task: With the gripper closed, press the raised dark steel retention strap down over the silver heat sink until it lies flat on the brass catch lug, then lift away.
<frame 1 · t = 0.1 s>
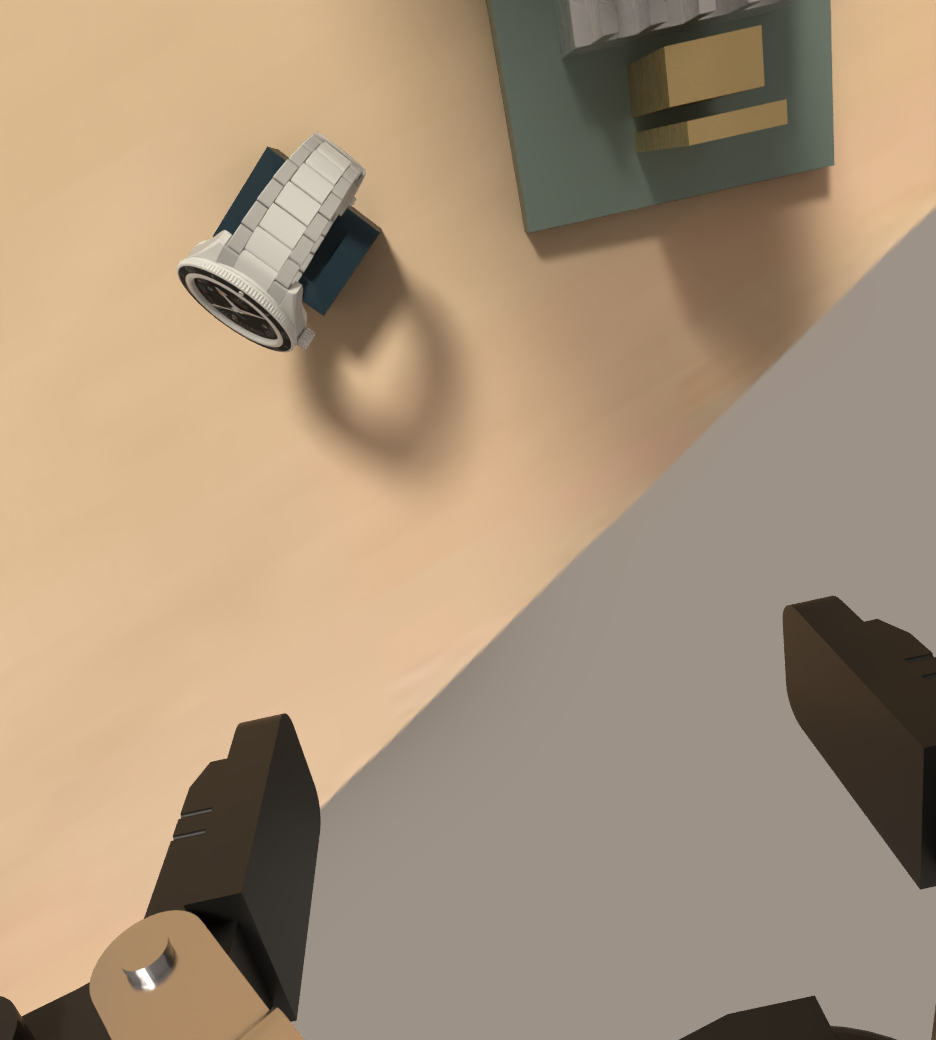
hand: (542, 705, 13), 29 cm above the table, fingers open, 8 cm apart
watch: (304, 232, 37), on the table
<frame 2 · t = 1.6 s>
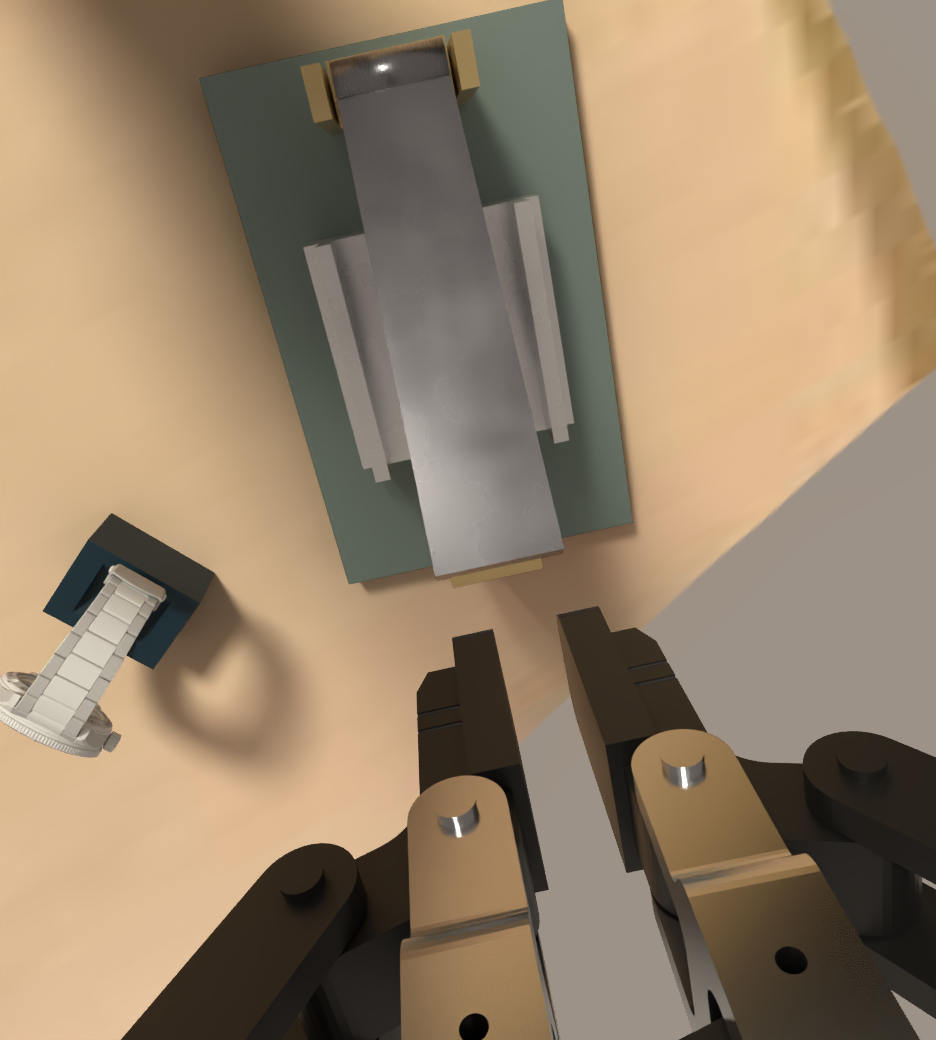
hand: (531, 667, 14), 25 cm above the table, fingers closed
strap: (439, 292, 24), point 12 cm above the table, hinge at 35.0°
heat sink: (445, 337, 33), on the board, point 4 cm above the table
board: (440, 321, 36), on the table
watch: (142, 576, 40), on the table
clip posts: (443, 325, 31), on the board, point 5 cm above the table
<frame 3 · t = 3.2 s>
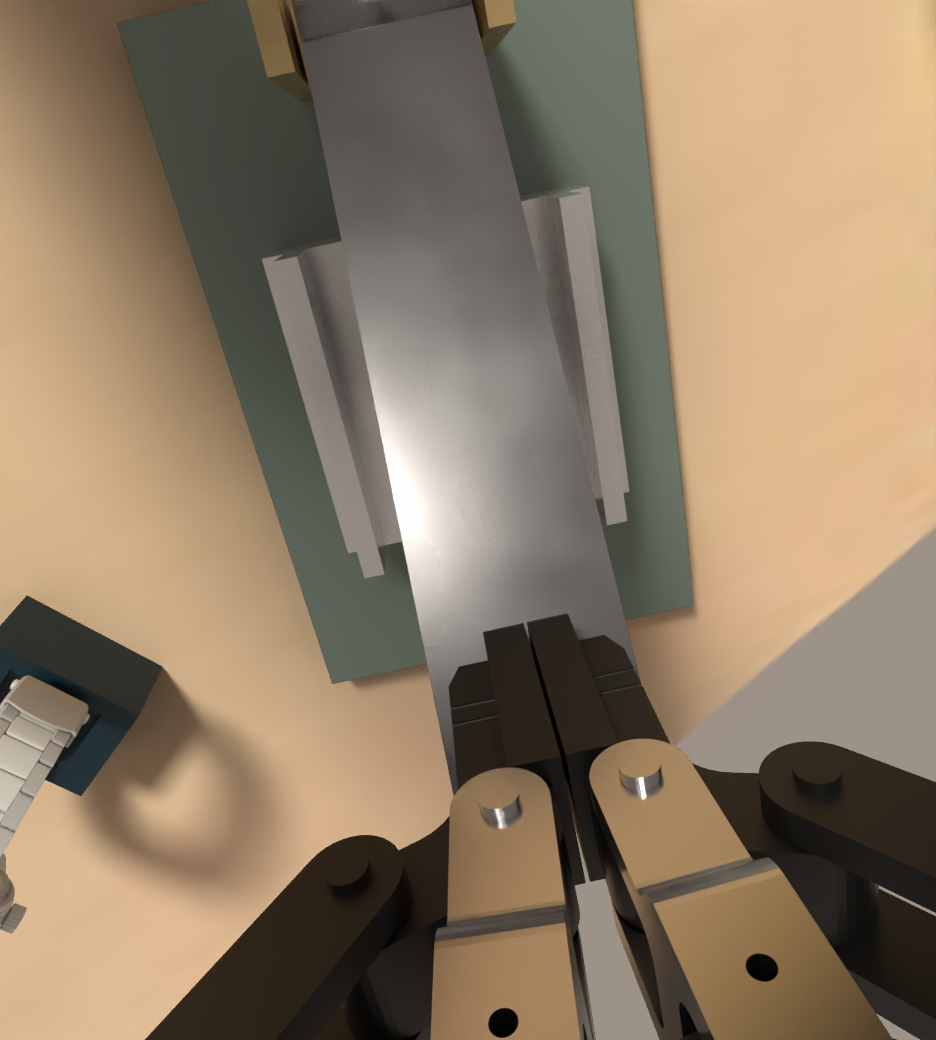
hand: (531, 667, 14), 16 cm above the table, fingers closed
strap: (457, 340, 16), point 12 cm above the table, hinge at 33.8°, touching gripper
heat sink: (458, 380, 24), on the board, point 4 cm above the table
board: (450, 352, 28), on the table
watch: (71, 671, 32), on the table
clip posts: (456, 366, 23), on the board, point 5 cm above the table
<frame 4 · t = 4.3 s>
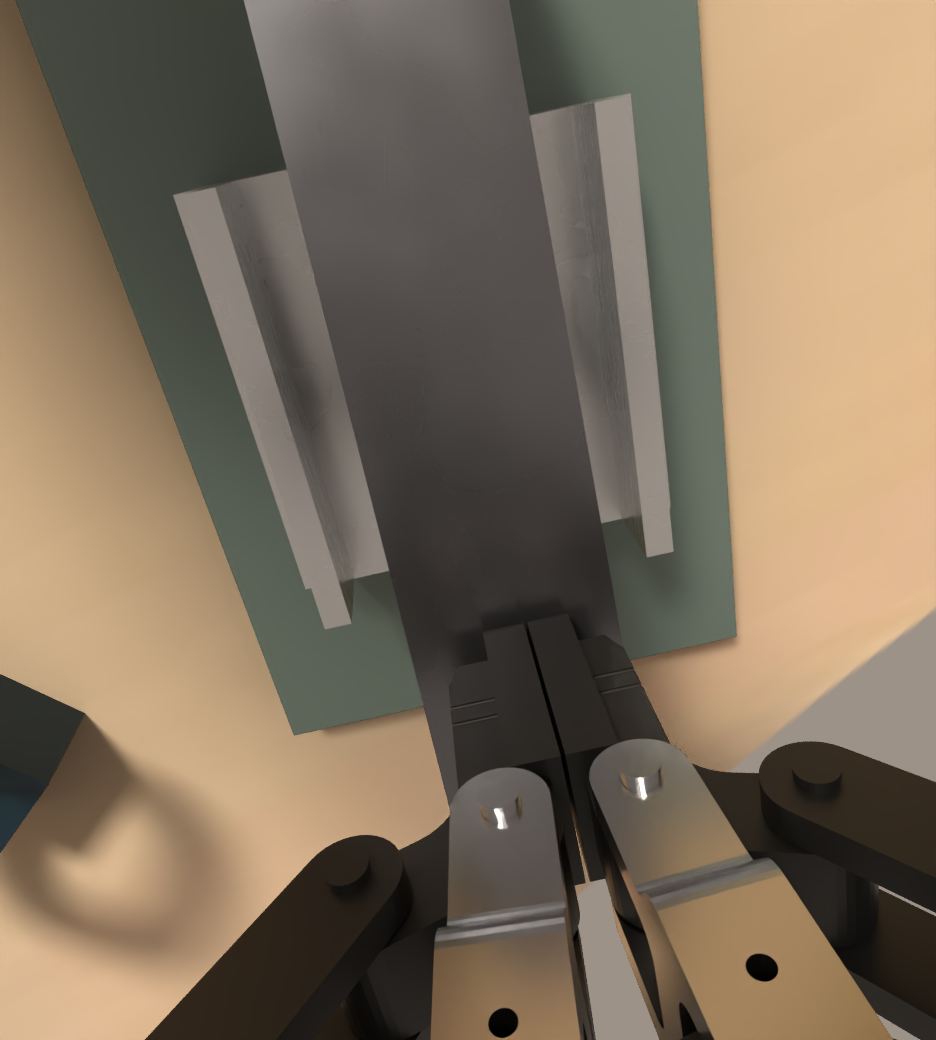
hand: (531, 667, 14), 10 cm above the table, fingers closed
strap: (451, 348, 13), point 9 cm above the table, hinge at 10.3°, touching gripper
heat sink: (448, 363, 18), on the board, point 4 cm above the table
board: (436, 325, 22), on the table
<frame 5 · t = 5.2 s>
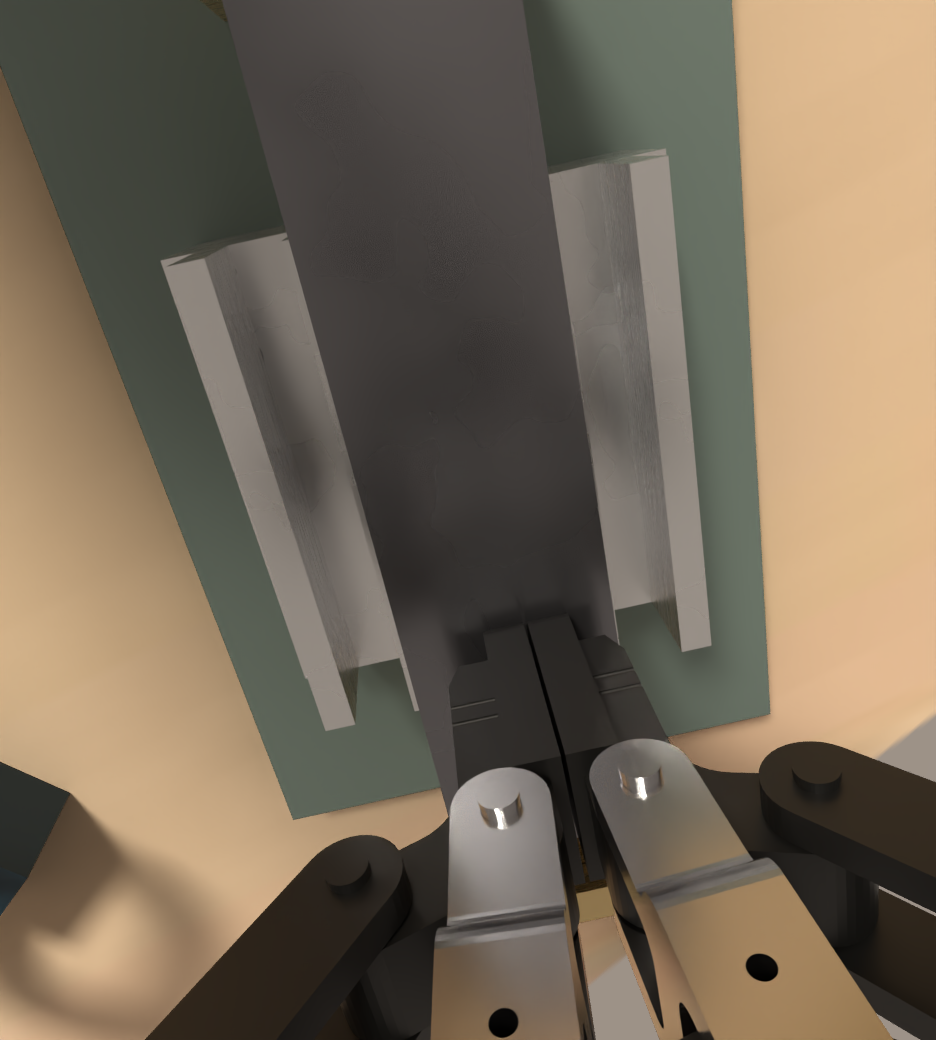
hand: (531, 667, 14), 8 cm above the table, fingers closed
strap: (463, 424, 13), point 8 cm above the table, hinge at 0.8°, touching gripper
heat sink: (462, 436, 16), on the board, point 4 cm above the table
board: (448, 386, 20), on the table
clip posts: (460, 421, 15), on the board, point 5 cm above the table
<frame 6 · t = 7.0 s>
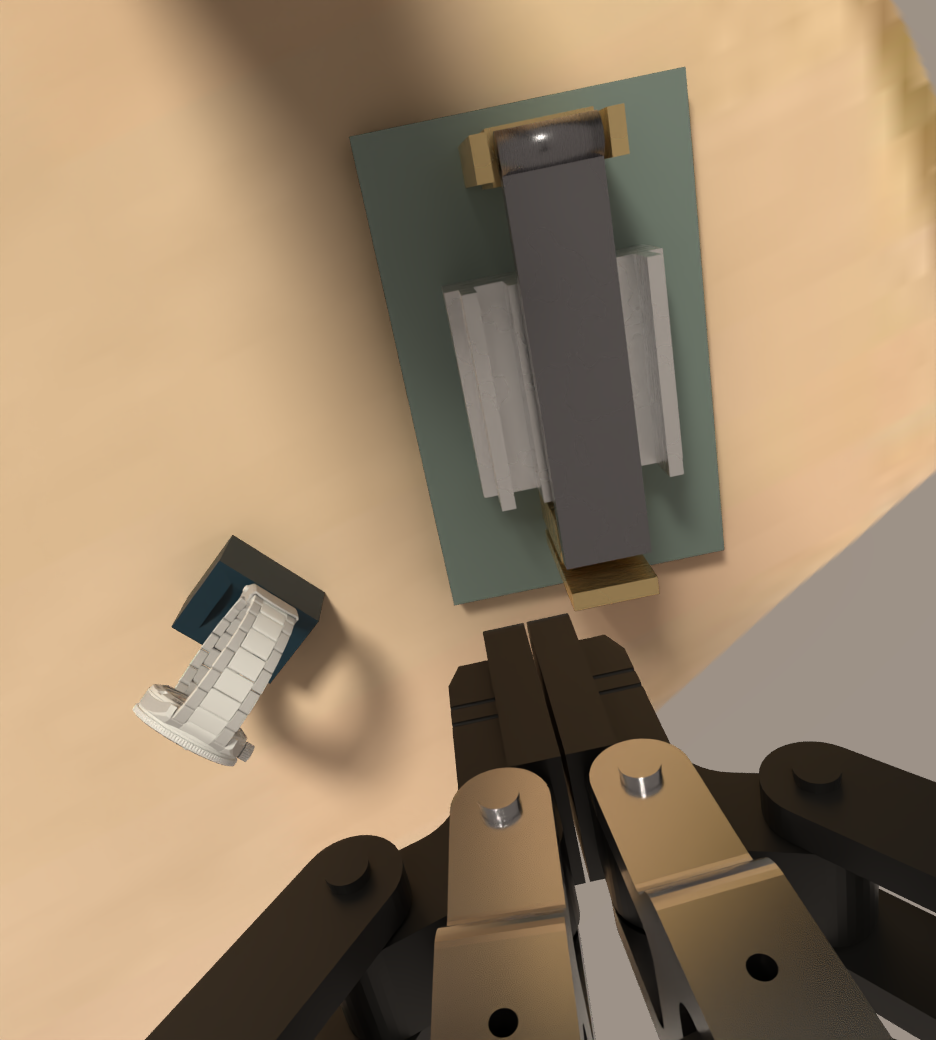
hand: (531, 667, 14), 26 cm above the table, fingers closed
strap: (578, 360, 31), point 8 cm above the table, hinge at 0.7°
heat sink: (567, 376, 35), on the board, point 4 cm above the table
board: (551, 359, 39), on the table
watch: (256, 595, 42), on the table
clip posts: (569, 366, 34), on the board, point 5 cm above the table
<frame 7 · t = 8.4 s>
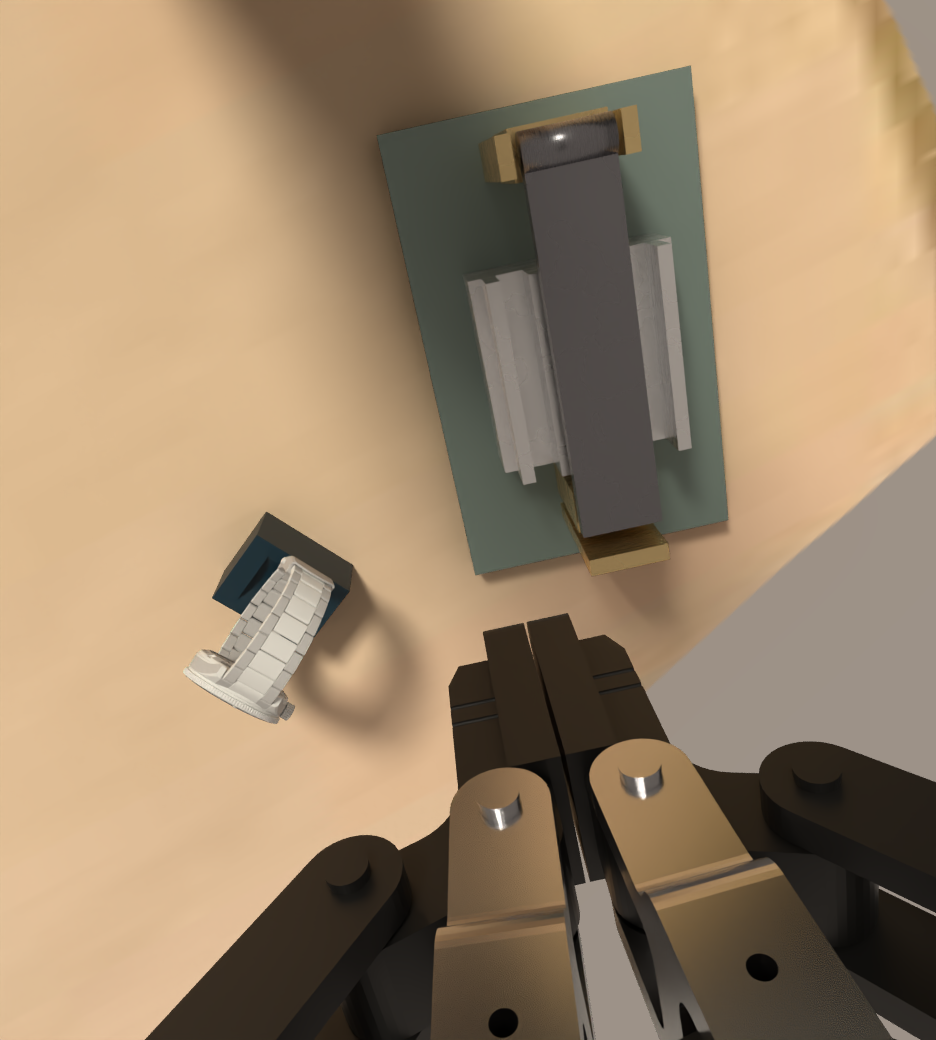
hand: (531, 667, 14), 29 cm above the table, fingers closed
strap: (594, 342, 33), point 8 cm above the table, hinge at 0.7°
heat sink: (581, 358, 37), on the board, point 4 cm above the table
board: (565, 342, 41), on the table
watch: (289, 568, 45), on the table
clip posts: (584, 349, 36), on the board, point 5 cm above the table
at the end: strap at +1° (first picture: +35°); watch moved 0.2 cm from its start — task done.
